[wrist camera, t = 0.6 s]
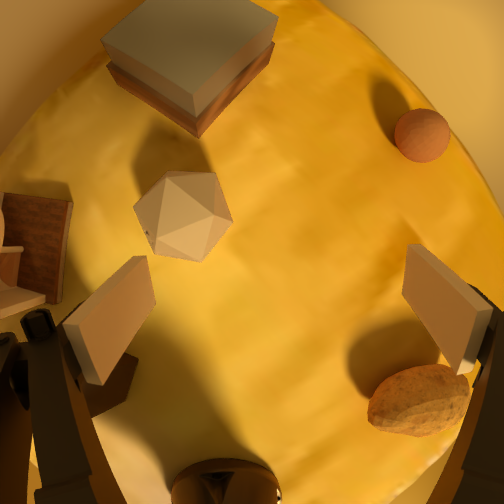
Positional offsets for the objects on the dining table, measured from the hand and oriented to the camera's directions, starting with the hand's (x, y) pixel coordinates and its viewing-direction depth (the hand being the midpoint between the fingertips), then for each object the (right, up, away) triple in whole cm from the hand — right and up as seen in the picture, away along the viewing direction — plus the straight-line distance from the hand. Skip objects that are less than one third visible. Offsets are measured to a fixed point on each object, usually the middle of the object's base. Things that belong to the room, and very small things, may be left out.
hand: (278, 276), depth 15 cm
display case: (-28, +2, +15) cm, 32 cm away
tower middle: (-8, +22, +12) cm, 27 cm away
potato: (+19, -17, +21) cm, 33 cm away
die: (-8, +5, +18) cm, 20 cm away
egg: (+18, +15, +20) cm, 31 cm away
